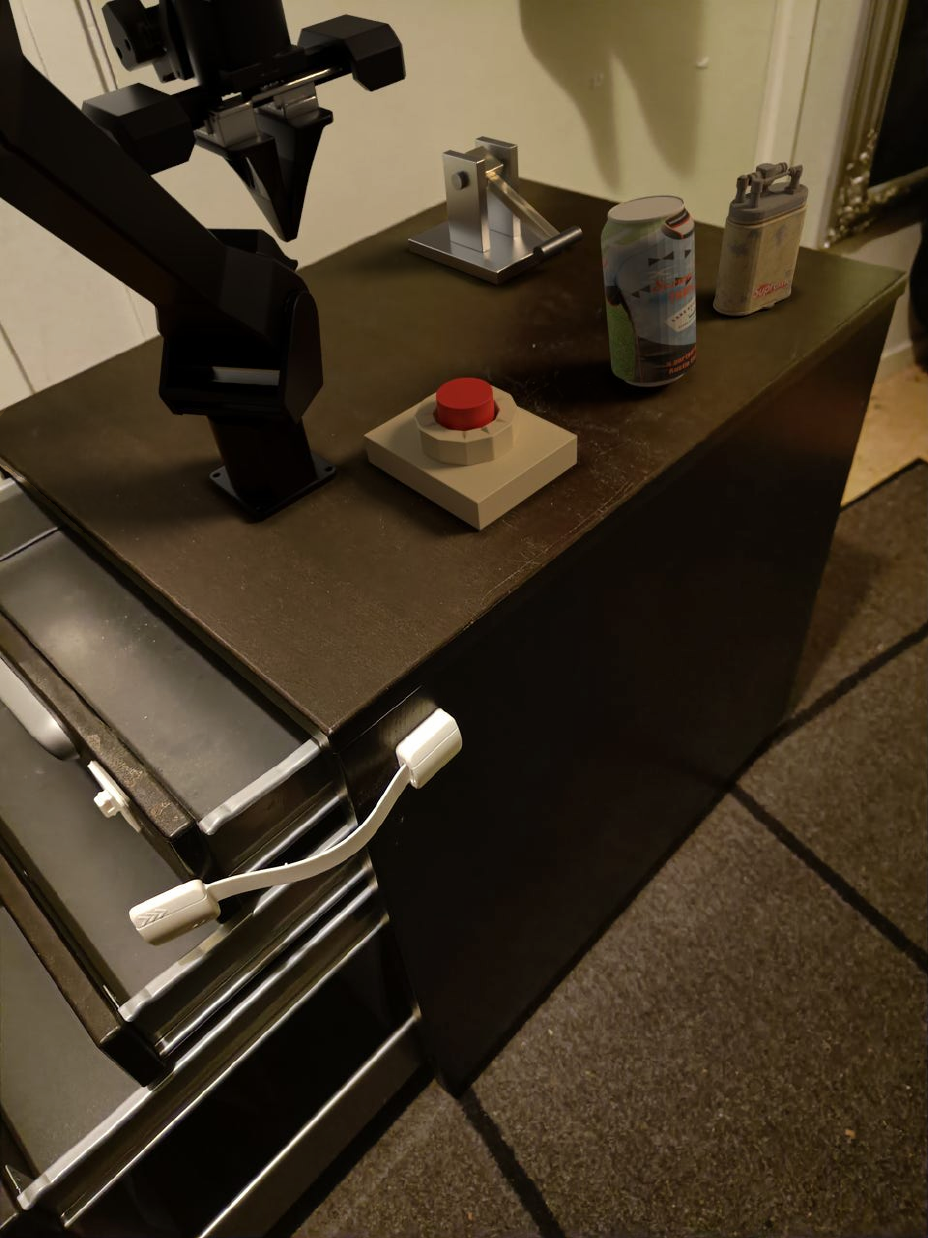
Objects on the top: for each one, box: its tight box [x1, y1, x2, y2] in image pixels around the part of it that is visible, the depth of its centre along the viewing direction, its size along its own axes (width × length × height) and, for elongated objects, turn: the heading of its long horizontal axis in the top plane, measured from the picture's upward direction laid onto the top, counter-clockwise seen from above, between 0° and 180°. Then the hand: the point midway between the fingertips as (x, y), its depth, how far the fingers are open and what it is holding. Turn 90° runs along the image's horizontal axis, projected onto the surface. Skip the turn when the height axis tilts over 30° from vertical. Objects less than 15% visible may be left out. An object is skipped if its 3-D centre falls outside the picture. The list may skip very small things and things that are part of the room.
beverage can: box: [600, 194, 697, 388], centre depth 57 cm, size 6×7×12 cm
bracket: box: [407, 135, 566, 286], centre depth 76 cm, size 12×9×9 cm
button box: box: [363, 385, 578, 531], centre depth 55 cm, size 11×9×4 cm
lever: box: [464, 146, 583, 263], centre depth 73 cm, size 12×5×2 cm, turn 43°
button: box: [435, 377, 494, 431], centre depth 53 cm, size 4×4×2 cm
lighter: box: [712, 161, 809, 317], centre depth 64 cm, size 7×4×10 cm, turn 122°
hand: (288, 238), depth 54 cm, fingers closed
